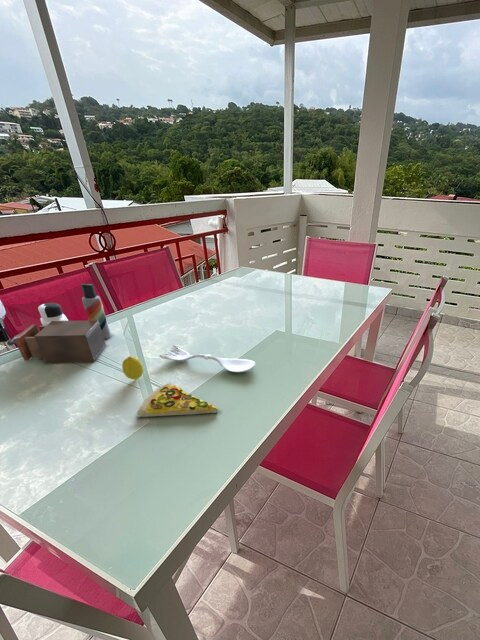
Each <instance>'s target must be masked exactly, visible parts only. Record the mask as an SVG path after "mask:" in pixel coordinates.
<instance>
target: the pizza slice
mask: <svg viewBox="0 0 480 640" xmlns="http://www.w3.org/2000/svg"><path fill="white" fill-rule="evenodd" d="M218 411H219V408H218V407H216V406H214V405H213V404H212V403H210V402H208V401H206V400H204V399H201V398H198V397H196V396H195V395H192V394H190V393H189V392H187V391H186V390H184V389H183V388H181V387H179V386H177V385H175V384H171V383H169V382H167V383H164V384H163V385H161V386H159V387H158V388H156V389H155V390H153V391H152V392H151V393H150V394H148V395H147V397H146V398H145V399H144V400H143V402H142V403H141V405H140V406H139V408H138V410H137V416H138V417H140V418H146V417H147V418H148V417H149V418H150V417H168V416H169V417H170V416H188V415H199V414H200V415H201V414H216V413H218Z"/></svg>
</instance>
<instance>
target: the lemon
mask: <svg viewBox="0 0 480 640" xmlns="http://www.w3.org/2000/svg"><path fill="white" fill-rule="evenodd" d="M121 369H122V372H123V374H124V376H125V377H126V378H128V379H130V380H134V381H137V380H138V379H139V378H141V377H142V375H143V373H144V367H143V364H142V362H141V361H140V359H139V358H137V357H135V356H131V355H129V356H127V357H126V358H124V360H123V361H122V364H121Z"/></svg>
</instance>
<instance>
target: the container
mask: <svg viewBox="0 0 480 640" xmlns="http://www.w3.org/2000/svg"><path fill="white" fill-rule="evenodd" d="M37 310H38V312H39V315H40V318H39V321H40V323H41V326H47V325H48V324H49V323H50V322H52V321H69V319H68V318H67V316H66V315H65V314H64V312H63V309H62V307H61V304H58V303H56V302H46V303H42V304H40V305H39V306H38V307H37Z"/></svg>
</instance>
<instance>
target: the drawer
mask: <svg viewBox="0 0 480 640" xmlns="http://www.w3.org/2000/svg"><path fill="white" fill-rule="evenodd" d="M44 327H46V326H42V325H39V326H38V327H37V324H31V325H29V326H28V327H27V328H25V330H23V331H22V332H21V333H17V334H16V335H14V337H12V338H11V339H10V340H8V341H7V342H6V343H7V345H8V346H10V347H11V346H14V345H16V346H17V348H18V351H19V353H20V354H21V356H22V359H23V361H24V362H26V361H28V362H29V361H30V360H31V359H34V360H38V359H44V358H43V355H42V353H41V351H40V348H39V346H38V344H37V341H36V339H35V337H34V336H35V335H36V334H37V333H39V332H40V331H41V330H42V329H43V328H44Z"/></svg>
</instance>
